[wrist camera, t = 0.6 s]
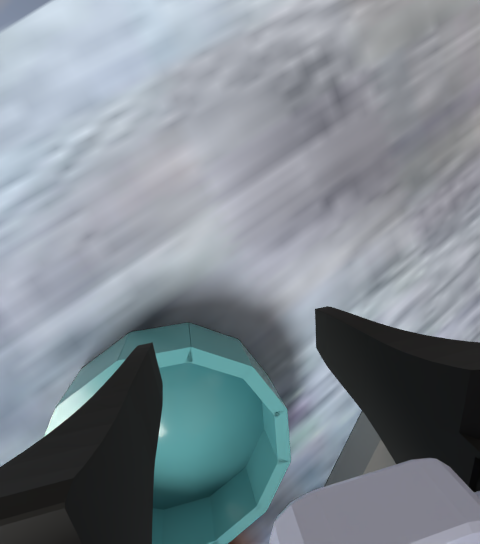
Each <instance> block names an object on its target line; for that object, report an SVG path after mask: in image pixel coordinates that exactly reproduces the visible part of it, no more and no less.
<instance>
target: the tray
mask: <svg viewBox="0 0 480 544" xmlns="http://www.w3.org/2000/svg"><path fill="white" fill-rule="evenodd" d="M393 465H395V461H394V460H393V458H392V456H391V455H390V453H389V452H388V450H387V448H386V447H385V445H384V443H383V442H382V440H381V438H380V437H379V435H378V434H377V432H376V431H375V429H374V428H373V426H372V424H371V423H370V421H369V420H368V418H367V417H366V415H365V414H364V412H363V411H362V412H361V414H360V416H359V418H358V420H357V422H356V424H355V426H354V428H353V430H352V432H351V434H350V436H349V438H348V440H347V442H346V444H345V446H344V448H343V450H342V452H341V454H340V456H339V458H338V460H337V462H336V464H335V466H334V468H333V470H332V472H331V474H330V476H329V479H328V481H327V483H326V485H325V486H328V485H331V484H335V483H338V482H341V481H344V480H348V479H351V478H354V477H357V476H360V475H364V474H367V473H370V472H373V471H377V470H380V469H383V468H386V467H389V466H393Z"/></svg>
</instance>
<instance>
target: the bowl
mask: <svg viewBox="0 0 480 544" xmlns="http://www.w3.org/2000/svg"><path fill="white" fill-rule="evenodd" d="M152 342H153V346H154V350H155V354H156V358H157V362H158V366H159V370H160V374H161V378H162V382H163V406H162V414H161V422H160V429H159V437H158V444H157V451H156V458H155V468H154V487H153V518H152V544H228V543H229V542H231V541H232V540H233V539H234V538H235V537H236V536H238V535H239V534H240V533H241V532H242V531H244V530H245V529H246V528H247V527H248V526H250V525H251V524H252V523H253V522H254V521H256V520H257V519H258V518H259V517H260V516H262V515H263V514H264V513H265V512H266V511H267V509H268V507H269V505H270V503H271V501H272V499H273V497H274V495H275V493H276V491H277V489H278V487H279V485H280V483H281V481H282V479H283V476H284V474H285V472H286V470H287V468H288V466H289V464H290V462H291V455H290V441H289V427H288V413H287V408H286V406H285V405H284V403H283V401H282V399H281V398H280V396H279V394H278V392H277V391H276V389H275V387H274V386H273V384H272V382H271V380H270V379H269V377H268V375H267V374H266V373H265V372H264V370H263V369H262V368H261V367H260V365H259V364H258V363H257V362H256V360H255V359H254V358H253V357H252V355H251V354H250V353H249V352H248V350H247V349H246V348H245V347H244V345H243V344H242V343H241V342H240V340H239V339H236V338H233V337H230V336H227V335H224V334H221V333H218V332H215V331H213V330H210V329H207V328H204V327H201V326H198V325H195V324H192V323H182V324H176V325H170V326H164V327H158V328H152V329H146V330H140V331H134V332H129V333H128V334H127V335H125V336H124V337H123V338H121V339H120V340H119V341H117V342H116V343H115V344H113V345H112V346H111V347H109V348H108V349H107V350H105V351H104V352H103V353H102V354H100V355H99V356H98V357H96V358H95V359H94V360H92V361H91V362H90V363H88V364H87V365H86V366H84V367H83V368H82V369H81V370H80V371H79V373H78V374H77V376H76V377H75V379H74V381H73V382H72V384H71V385H70V387H69V388H68V390H67V391H66V393H65V394H64V396H63V397H62V399H61V400H60V402H59V403H58V405H57V406H56V408H55V410H54V413H53V415H52V418H51V420H50V423H49V425H48V428H47V430H46V433H45V435H44V437H45V436H46V435H47V434H49V433H50V432H51V431H52V430H54V429H55V428H56V427H58V426H59V425H60V424H61V423H63V422H64V421H65V420H66V419H68V418H69V417H70V416H71V415H72V414H74V413H75V412H76V411H77V410H78V409H79V408H80V407H81V406H83V405H84V404H85V403H86V402H87V401H88V400H89V399H90V398H91V397H92V396H93V395H94V394H95V393H96V392H97V391H98V390H99V389H100V388H101V387H102V386H103V385H104V384H105V382H106V381H107V380H108V379H109V378H110V377H111V376H112V375H113V374H114V373H115V371H116V370H117V369H118V368H119V367H120V366H121V364H122V363H123V362H124V361H125V360H126V358H127V357H128V356H129V355H130V354H131V352H132V351H133V350H134V349H135V348H136V347H137V346H138V345H142V344H147V343H152Z"/></svg>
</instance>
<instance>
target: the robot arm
mask: <svg viewBox="0 0 480 544" xmlns="http://www.w3.org/2000/svg"><path fill="white" fill-rule="evenodd" d="M315 319H316V348H317V350H318V352H319V353H320V355H321V357H322V359H323V360H324V362H325V363H326V365H327V367H328V368H329V369H330V370H331V372H332V373H333V374H334V376H335V377H336V378H337V379H338V381H339V382H340V383H341V384H342V386H343V387H344V388H345V389H346V391H347V392H348V393H349V394H350V396H351V397H352V398H353V399H354V401H355V402H356V403H357V404H358V406H359V407H360V408H361V410H362V411H363V412H364V414H365V415H366V417H367V418H368V420H369V421H370V423H371V424H372V426H373V428H374V429H375V431H376V432H377V434H378V435H379V437H380V438H381V440H382V442H383V443H384V445H385V447H386V448H387V450H388V452H389V453H390V455H391V456H392V458H393V460H394V461H395V463H396V465H393V466H389V467H386V468H383V469H380V470H377V471H373V472H370V473H367V474H364V475H360V476H357V477H354V478H351V479H348V480H344V481H341V482H338V483H335V484H331V485H328V486H325V487H322V488H319V489H315V490H312V491H311V492H309V493H307V494H305V495H303V496H301V497H299V498H297V499H295V500H293V501H291V502H290V503H289V505H288V506H287V507H286V508H285V509H284V510H283V511H282V512H281V513H280V514H279V515H278V516H277V518H276V520H275V522H274V525H273V529H272V533H271V537H270V541H269V542H270V544H480V343H478V342H467V341H459V340H451V339H445V338H439V337H432V336H427V335H422V334H417V333H413V332H409V331H404V330H400V329H397V328H393V327H390V326H386V325H383V324H380V323H377V322H373V321H370V320H367V319H365V318H362V317H359V316H356V315H353V314H350V313H348V312H345V311H342V310H339V309H336V308H332V307H328V306H327V307H323V308H318V309H315ZM162 406H163V382H162V378H161V374H160V370H159V366H158V362H157V358H156V354H155V350H154V346H153V342H152V343H147V344H142V345H138V346H137V347H136V348H135V349H134V350H133V351H132V352H131V354H130V355H129V356H128V357H127V358H126V360H125V361H124V362H123V363H122V364H121V366H120V367H119V368H118V369H117V370H116V371H115V373H114V374H113V375H112V376H111V377H110V378H109V379H108V380H107V381H106V382H105V384H104V385H103V386H102V387H101V388H100V389H99V390H98V391H97V392H96V393H95V394H94V395H93V396H92V397H91V398H90V399H89V400H88V401H87V402H86V403H85V404H84V405H83V406H81V407H80V408H79V409H78V410H77V411H76V412H75V413H74V414H72V415H71V416H70V417H69V418H68V419H66V420H65V421H64V422H63V423H61V424H60V425H59V426H58V427H56V428H55V429H54V430H52V431H51V432H50V433H49V434H47V435H46V436H45V437H43V438H42V439H41V440H39V441H38V442H37V443H35V444H34V445H32V446H31V447H30V448H28V449H27V450H25V451H24V452H22V453H21V454H19V455H18V456H16V457H15V458H13V459H12V460H10V461H9V462H7V463H6V464H4V465H3V466H1V467H0V544H152V518H153V487H154V468H155V458H156V451H157V444H158V437H159V429H160V422H161V414H162Z"/></svg>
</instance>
